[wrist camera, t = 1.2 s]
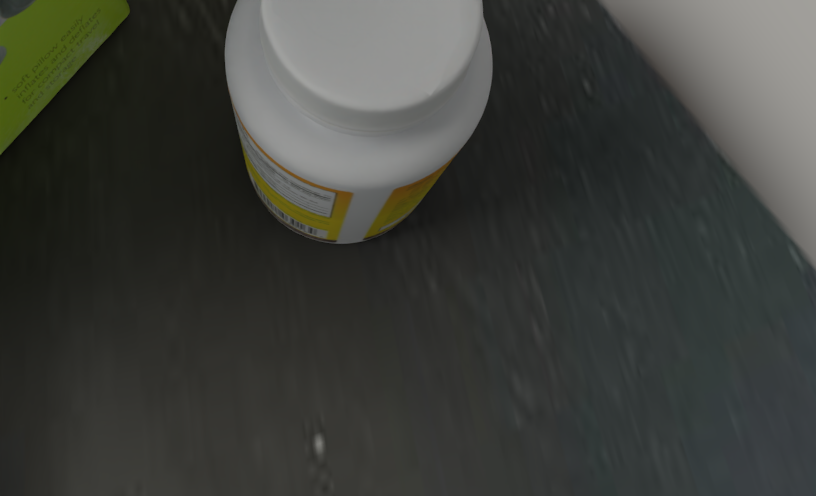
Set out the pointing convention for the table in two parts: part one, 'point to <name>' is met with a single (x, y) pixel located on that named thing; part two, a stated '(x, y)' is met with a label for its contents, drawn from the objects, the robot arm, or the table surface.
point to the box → (46, 52)
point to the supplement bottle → (354, 105)
